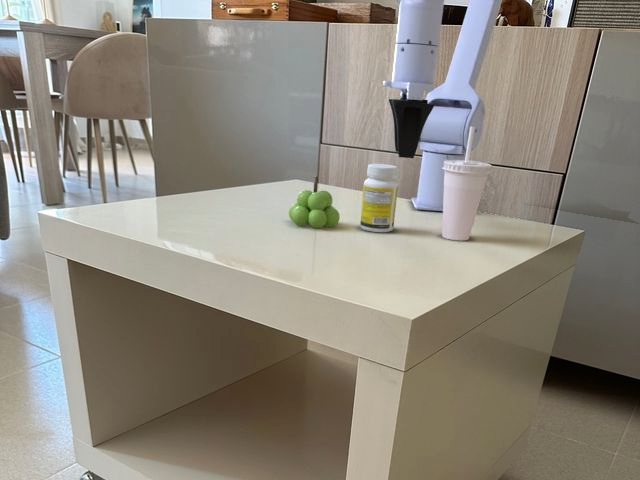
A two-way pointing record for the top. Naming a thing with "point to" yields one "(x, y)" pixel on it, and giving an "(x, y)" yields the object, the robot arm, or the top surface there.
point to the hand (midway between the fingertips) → (404, 154)
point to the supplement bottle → (379, 198)
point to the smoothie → (462, 193)
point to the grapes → (314, 208)
